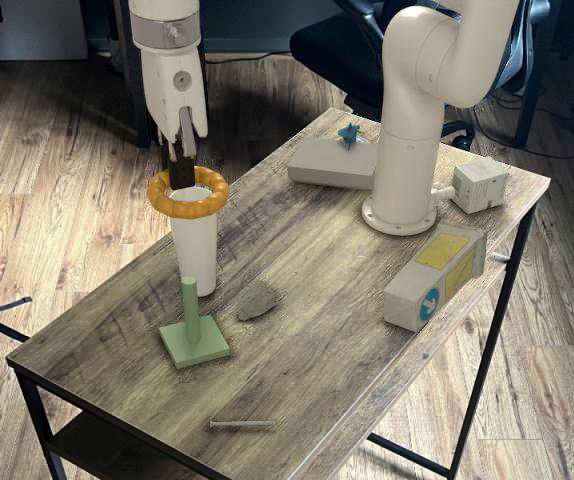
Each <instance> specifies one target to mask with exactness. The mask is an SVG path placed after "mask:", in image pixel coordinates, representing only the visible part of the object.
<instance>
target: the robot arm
mask: <svg viewBox="0 0 574 480" xmlns="http://www.w3.org/2000/svg"><path fill="white" fill-rule="evenodd" d="M127 1H128V8H129V9H128V10H129V18H130V28H131V34H132V43H133V44H134V46H135V47H136V48H137V49H140V57H141V71H142V81H143V90H144V98H145V102H146V107H147V110H148V112H149V114H150V116H151V117H152V118H153V120H154V123H155V124H156V125H157V126H156V127H157V136H158V142H159V144H160V146H159V156H160V165H161V172H162V171H164V170H165V169H168V170H169V180H170V187H169V188H170V189H171V190H172V191H173V192H175V191H176V190H180V189H185V188H190V187H196V183H195V169H194V166H195V156H197V148H196V142H195V136H194V131H195V132H196V134H197V135H198V137H199V138H203V139H204V138H206V137H207V135H208V134H209V133H208V132H209V131H208V117H207V109H206V108H207V106H206V97H205V89H204V79H203V72H202V67H201V60H200V55H199V51H198V50H199V49H198V46H199V44H200V43H201V41H202V34H201V17H200V15H201V14H200V0H127ZM431 1H432V2H435V3H436V4H438V5H441V6H443V7H445V8H447V9H449V10H451V11H452V12H453V11H454V12H455V13H457V14H460V21H458V20H457V19H455V18H453V17H451V16H450V15H446V14H444V13H442V12H440V11H438V10H436V9H433V8H430V7H427V6H421V5H412V6H408V7H405V8H403V9H401V10H400V11H397V13H396V14H395V15H394V16H393V17H392V18H391V20H390V21H389V23H388V25H387V27H386V30H385V32H384V36H383V41H382V49H381V50H382V51H381V60H382V73H383V101H382V109H381V110H382V112H381V119H380V128H379V135H378V136H379V137H378V143H377V144H378V153H377V162H376V170H375V179H374V184H373V187H372V188H373V189H372V193H371V194H369V195H368V196H367V197H366V198H365V199H364V200H363V202H362V205H361V216H362V218H363V220H364V221H365V223H366V224H368V225H369V227H371V228H372V229H374V230H376V231H378V232H380V233H383V234H388V235H391V236H402V237H404V236H413V235H418V234H421V233H424V232H425V231H427V230H429V229H430V228H431V227H433V226H434V224H435V222H436V219H437V208H436V205H437V204H440V201H447V200H452V199H451V198H454V197H455V189H454V187H452V186H451V185H450V186H447V187H442V184H441V182H439V181H436V182H434V178H435V171H436V166H437V161H438V155H439V150H440V145H441V144H440V143H441V137H442V131H443V128H444V121H445V104H448V105H449V106H451V107H454V108H458V109H470V108H472V107H475V106H476V105H478V104H479V103H481V101H482V100H483V99H484V98H485V97H486V95H487V94H488V92H489V91H490V89H491V88H492V85H493V83H494V81H495V79H496V77H497V73H498V71H499V69H500V65H501V61H502V59H503V55H504V52H505V49H506V46H507V43H508V39H509V35H510V32H511V29H512V26H513V23H514V19H515V16H516V13H517V10H518V6H519V4H520V0H431ZM193 130H194V131H193Z"/></svg>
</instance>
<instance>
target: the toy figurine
mask: <svg viewBox="0 0 574 480" xmlns="http://www.w3.org/2000/svg"><path fill="white" fill-rule="evenodd" d="M352 124H353V123H352V122H349V124H347V127H343V128H340V129H339V130H337V135H338V136H339V137H343V138H342V140H343V142H344V143H347V144H349V148H350V145H351V144H352V143H353V142H356V137H357V135H359V134H361V135H363V136H366V135H367V133H366V131H364V130H360V129H361V126H360V125H359V124H354V125H352ZM349 148H348V151H349Z"/></svg>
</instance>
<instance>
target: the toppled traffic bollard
mask: <svg viewBox="0 0 574 480" xmlns="http://www.w3.org/2000/svg"><path fill="white" fill-rule="evenodd" d="M487 244H488V230H486V229H482V228H480V227H476V226H472V225H468V224H464V223H461V222H458V221H455V220H452V219H447V218H442V219H441V220H440V221H439V222H438V223H437V227H436V231H434V233H433V234H432V235H431V236H430V238H429V239H428V240H426V242H425V243H424V244H423V245H422V246H421V247H420V249H419V250H418V251H417V252H416V253H415V254H414V255H413V256H412V257H411V258H410V260H408V261H407V263H406V264H405V265H403V268H401V269H400V270H399V271H398V272H397V273H396V274H395V276H394V277H393V278H392V279H391V281H390V282H388V284H387V285H386V286H385V287H384V288H383V290H382V292H383V293H382V295H383V298H382V299H383V321H384V322H387V323H389V324H392V325H395V326H397V327H401V328H404V329H406V330H408V331H412V332H414V333H415V334H416V333H417V332H419V331H420V330H421V329H422V328H423V327H424V326H425V325H426V324H427V323H428V322H429V321H430V320H431V319H432V318H433V317H434V316H436V315H437V313H438V312H439V311H441V309H442V308H443V307H444V306H445V305H446V304H448V303H449V301H450V300H451V299H452V298H453V297H455V296H456V294H458V292H459V291H460V290H461V289H463V287H465V285H467V283H468V282H470V281H471V280H472V279H473V280H474V279H475V280H478V279H479V278H481V276H483V275H484V273H485V272H484V271H485V265H486V258H487Z"/></svg>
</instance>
